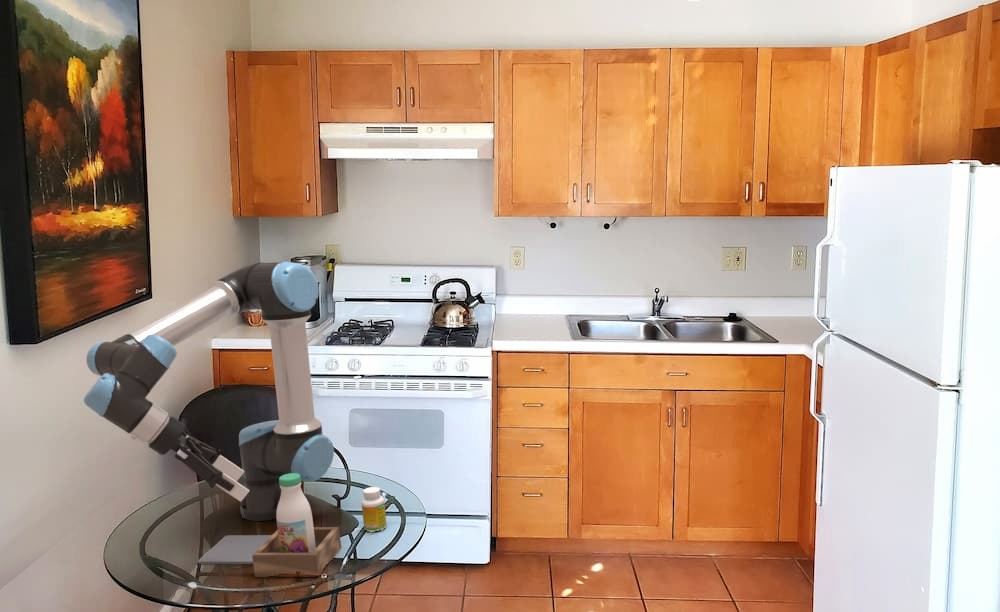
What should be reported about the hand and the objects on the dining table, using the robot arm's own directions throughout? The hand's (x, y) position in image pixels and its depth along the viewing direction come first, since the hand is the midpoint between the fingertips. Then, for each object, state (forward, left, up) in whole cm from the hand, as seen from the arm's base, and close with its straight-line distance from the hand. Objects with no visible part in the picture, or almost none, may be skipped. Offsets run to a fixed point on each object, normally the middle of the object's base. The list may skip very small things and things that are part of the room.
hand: (242, 485), depth 182 cm
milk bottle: (-5, +8, -20) cm, 22 cm away
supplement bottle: (-23, +20, -20) cm, 37 cm away
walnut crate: (-5, +8, -20) cm, 22 cm away
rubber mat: (-11, -9, -20) cm, 24 cm away
